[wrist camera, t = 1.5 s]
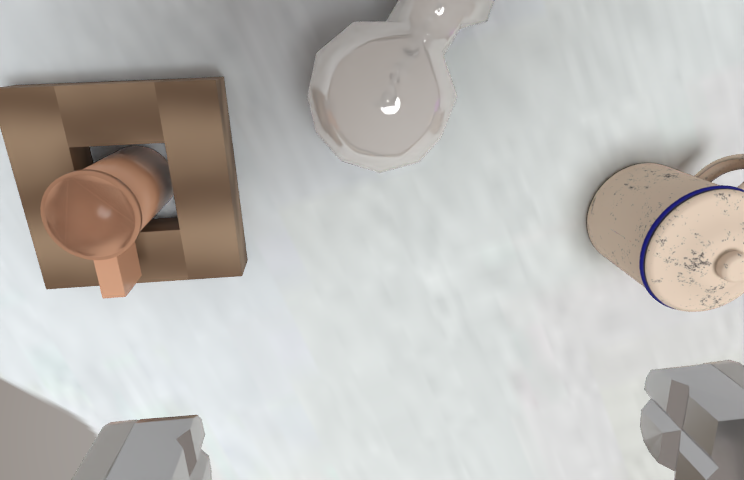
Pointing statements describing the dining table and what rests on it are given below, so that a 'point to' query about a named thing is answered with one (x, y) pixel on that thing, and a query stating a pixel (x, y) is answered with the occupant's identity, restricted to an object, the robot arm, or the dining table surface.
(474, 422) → the dining table surface
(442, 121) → the potion bottle
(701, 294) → the teacup with lid
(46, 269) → the holder
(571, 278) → the dining table surface
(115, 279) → the copper mug
